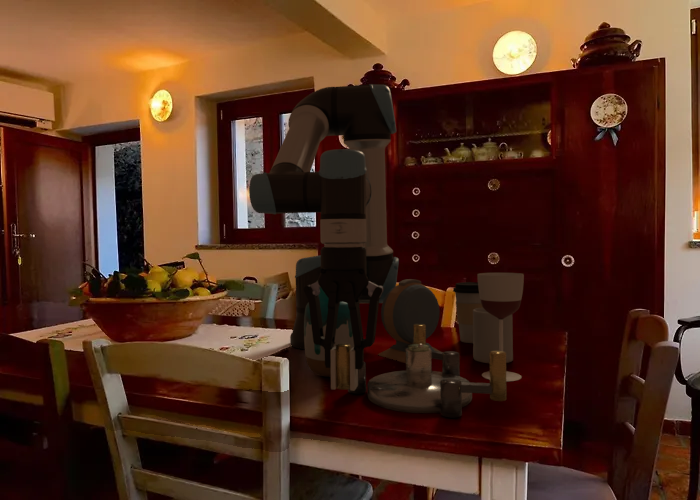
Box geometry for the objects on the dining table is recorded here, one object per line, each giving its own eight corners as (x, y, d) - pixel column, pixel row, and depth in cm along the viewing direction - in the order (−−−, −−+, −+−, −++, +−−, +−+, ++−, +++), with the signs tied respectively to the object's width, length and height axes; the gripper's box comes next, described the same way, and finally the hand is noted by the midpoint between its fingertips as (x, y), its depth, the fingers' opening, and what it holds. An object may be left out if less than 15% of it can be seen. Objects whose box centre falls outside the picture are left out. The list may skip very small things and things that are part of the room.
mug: (514, 364, 108) (513, 313, 108) (472, 363, 111) (472, 312, 110) (511, 352, 120) (510, 305, 120) (473, 350, 122) (473, 304, 122)
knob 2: (440, 417, 77) (439, 353, 77) (440, 409, 81) (440, 348, 80) (507, 420, 76) (507, 355, 75) (505, 412, 79) (504, 350, 78)
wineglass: (481, 368, 106) (480, 272, 105) (526, 372, 102) (525, 272, 102) (475, 379, 98) (474, 275, 98) (523, 383, 95) (522, 276, 94)
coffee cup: (488, 337, 137) (488, 281, 136) (492, 345, 127) (491, 285, 127) (452, 337, 138) (452, 281, 138) (453, 344, 129) (453, 285, 129)
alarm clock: (419, 347, 127) (418, 276, 127) (448, 354, 119) (447, 278, 119) (374, 355, 119) (372, 280, 118) (402, 364, 111) (400, 282, 110)
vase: (368, 374, 103) (366, 279, 102) (330, 386, 95) (328, 284, 95) (332, 365, 110) (330, 277, 110) (294, 376, 103) (292, 281, 102)
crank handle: (462, 378, 98) (462, 328, 97) (454, 382, 95) (453, 330, 95) (419, 370, 104) (418, 323, 104) (410, 374, 102) (409, 325, 101)
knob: (351, 387, 93) (350, 334, 93) (368, 389, 92) (367, 335, 92) (332, 404, 84) (331, 346, 84) (351, 406, 83) (350, 347, 83)
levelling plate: (346, 398, 88) (345, 345, 88) (406, 375, 102) (405, 329, 101) (436, 421, 76) (435, 360, 76) (490, 392, 90) (489, 340, 90)
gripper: (290, 246, 82) (292, 391, 82) (387, 246, 78) (388, 397, 79) (304, 245, 89) (305, 378, 90) (393, 244, 86) (394, 383, 87)
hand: (344, 387), depth 85 cm, fingers open, 2 cm apart
